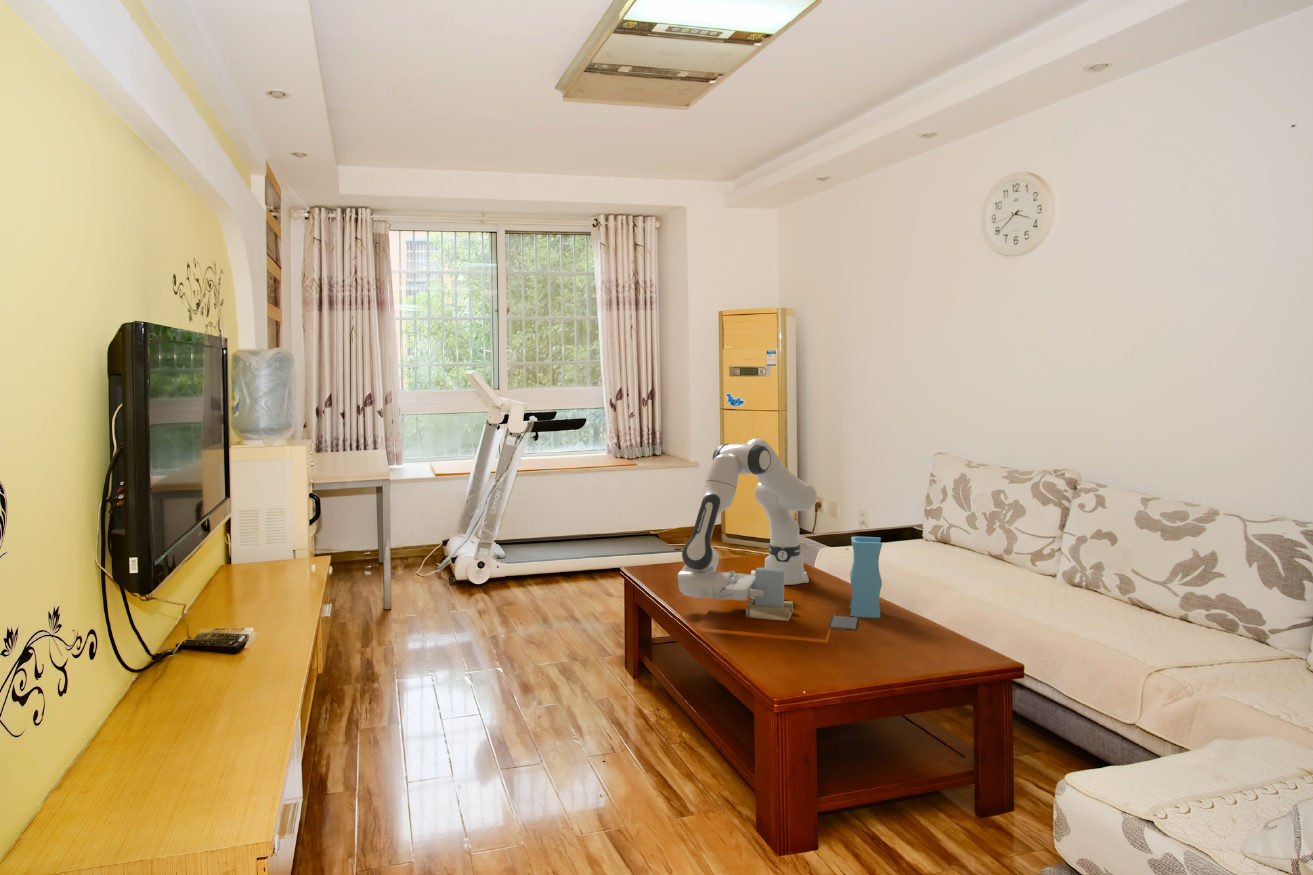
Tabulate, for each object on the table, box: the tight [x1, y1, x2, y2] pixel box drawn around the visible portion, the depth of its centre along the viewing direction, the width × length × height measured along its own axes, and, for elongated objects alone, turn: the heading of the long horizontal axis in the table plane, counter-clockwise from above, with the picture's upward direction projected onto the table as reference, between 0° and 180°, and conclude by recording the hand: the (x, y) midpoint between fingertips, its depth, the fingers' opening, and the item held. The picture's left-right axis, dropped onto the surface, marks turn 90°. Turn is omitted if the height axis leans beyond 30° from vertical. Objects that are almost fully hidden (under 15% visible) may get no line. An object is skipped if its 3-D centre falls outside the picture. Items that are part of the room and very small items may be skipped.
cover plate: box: [754, 567, 785, 607], centre depth 277 cm, size 4×9×15 cm, turn 74°
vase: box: [849, 536, 883, 619], centre depth 282 cm, size 10×10×25 cm
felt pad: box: [828, 615, 859, 631], centre depth 271 cm, size 12×12×1 cm
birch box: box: [745, 597, 794, 621], centre depth 277 cm, size 10×14×4 cm
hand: (766, 589), depth 277 cm, fingers open, 8 cm apart
